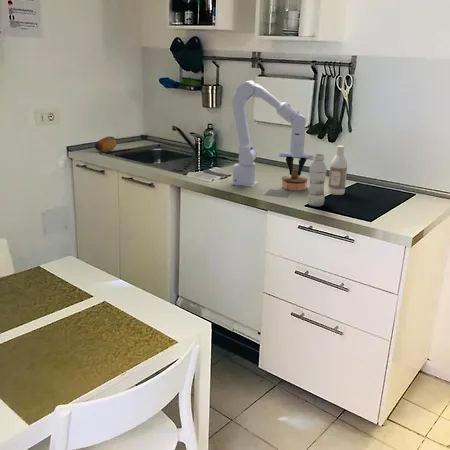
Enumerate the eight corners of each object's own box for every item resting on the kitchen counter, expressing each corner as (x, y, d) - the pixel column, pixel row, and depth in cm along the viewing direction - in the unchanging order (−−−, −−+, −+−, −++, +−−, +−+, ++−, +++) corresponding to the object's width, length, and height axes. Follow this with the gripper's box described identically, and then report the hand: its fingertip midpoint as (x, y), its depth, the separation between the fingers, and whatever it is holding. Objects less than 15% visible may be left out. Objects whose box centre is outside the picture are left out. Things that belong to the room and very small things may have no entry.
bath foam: (325, 193, 221) (329, 146, 214) (330, 190, 227) (335, 143, 220) (341, 196, 218) (346, 148, 211) (346, 192, 224) (351, 145, 217)
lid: (278, 180, 223) (279, 170, 222) (285, 176, 233) (286, 167, 232) (304, 183, 219) (305, 173, 218) (309, 179, 229) (310, 169, 228)
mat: (263, 196, 215) (263, 194, 215) (269, 190, 224) (270, 188, 224) (287, 198, 212) (287, 197, 212) (293, 192, 221) (293, 191, 221)
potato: (100, 159, 288) (90, 149, 289) (118, 150, 296) (109, 140, 298) (103, 149, 282) (93, 140, 284) (121, 140, 291) (111, 131, 292)
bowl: (280, 189, 225) (280, 182, 224) (285, 184, 234) (286, 176, 233) (303, 192, 222) (304, 184, 221) (307, 186, 231) (308, 179, 230)
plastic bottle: (323, 209, 201) (328, 157, 194) (305, 207, 202) (309, 156, 195) (324, 204, 207) (328, 153, 200) (306, 202, 208) (310, 152, 201)
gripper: (278, 143, 220) (276, 175, 224) (312, 146, 216) (310, 178, 220) (282, 140, 226) (280, 171, 231) (315, 143, 222) (313, 175, 226)
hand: (295, 174), depth 226 cm, fingers closed on lid, 3 cm apart
